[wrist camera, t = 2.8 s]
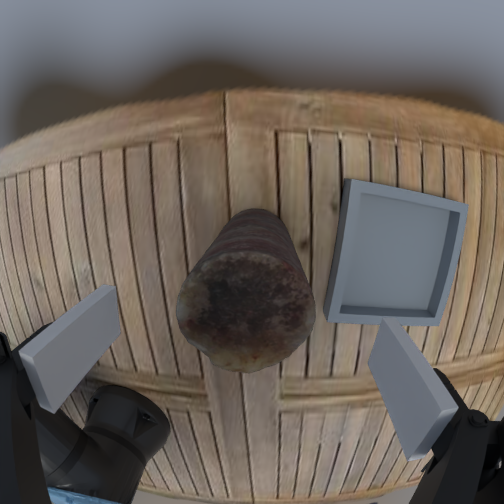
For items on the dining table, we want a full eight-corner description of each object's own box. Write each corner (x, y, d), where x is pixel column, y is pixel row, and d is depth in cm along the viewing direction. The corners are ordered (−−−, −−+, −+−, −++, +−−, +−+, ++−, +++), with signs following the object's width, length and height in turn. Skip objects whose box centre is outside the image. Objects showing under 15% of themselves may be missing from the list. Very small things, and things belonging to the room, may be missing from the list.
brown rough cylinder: (275, 196, 32) (286, 228, 13) (300, 255, 33) (336, 358, 14) (213, 222, 33) (140, 288, 14) (239, 279, 35) (206, 397, 15)
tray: (322, 310, 35) (327, 321, 32) (344, 178, 31) (351, 179, 28) (429, 316, 35) (438, 326, 32) (455, 201, 30) (468, 204, 28)
